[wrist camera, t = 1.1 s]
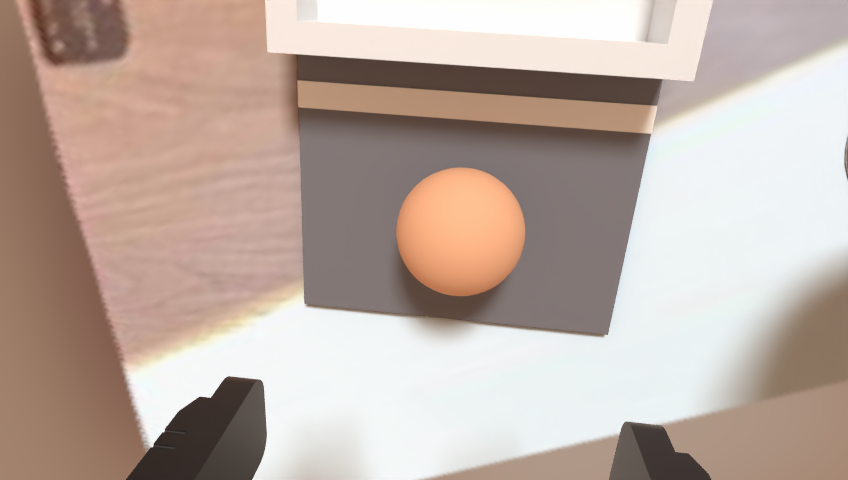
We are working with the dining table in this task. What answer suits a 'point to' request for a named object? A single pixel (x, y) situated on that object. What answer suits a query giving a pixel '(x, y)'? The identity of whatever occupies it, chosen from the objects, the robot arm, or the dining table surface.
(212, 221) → the dining table surface
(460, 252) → the ball
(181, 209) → the dining table surface
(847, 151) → the wine glass
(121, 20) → the dining table surface
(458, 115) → the mat
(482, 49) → the tray
